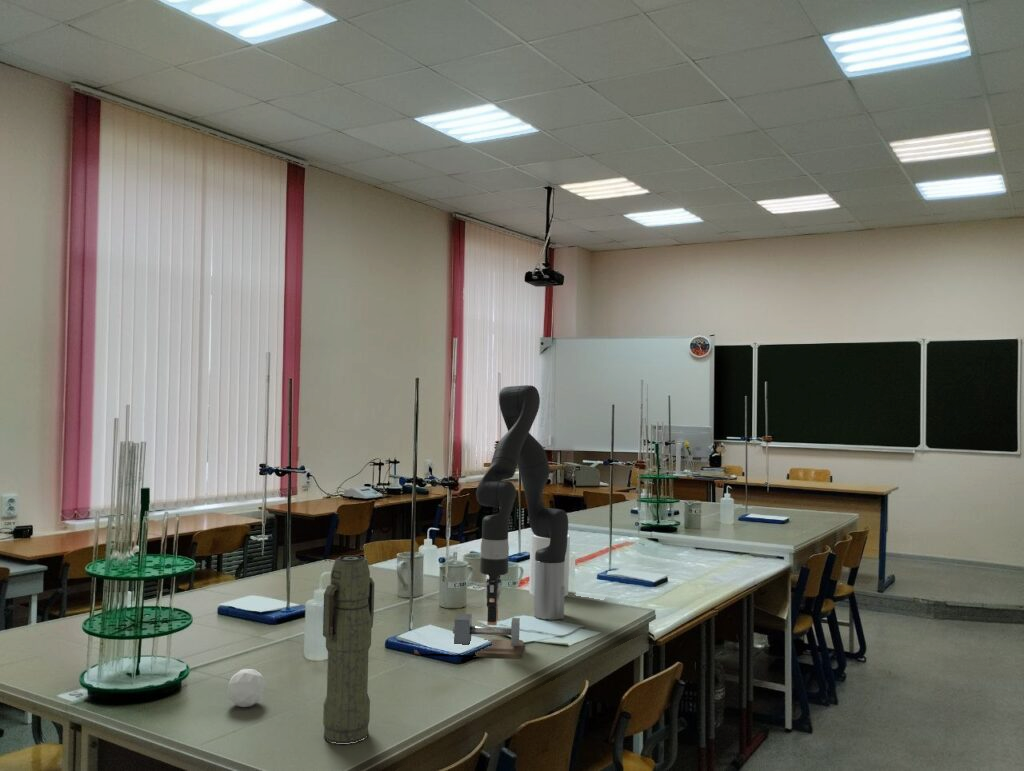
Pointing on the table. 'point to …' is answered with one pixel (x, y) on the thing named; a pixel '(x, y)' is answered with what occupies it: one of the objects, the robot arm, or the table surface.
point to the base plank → (499, 649)
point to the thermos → (348, 649)
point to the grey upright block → (462, 629)
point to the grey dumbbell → (500, 631)
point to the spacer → (496, 614)
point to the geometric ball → (246, 687)
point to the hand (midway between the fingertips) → (492, 618)
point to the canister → (535, 545)
